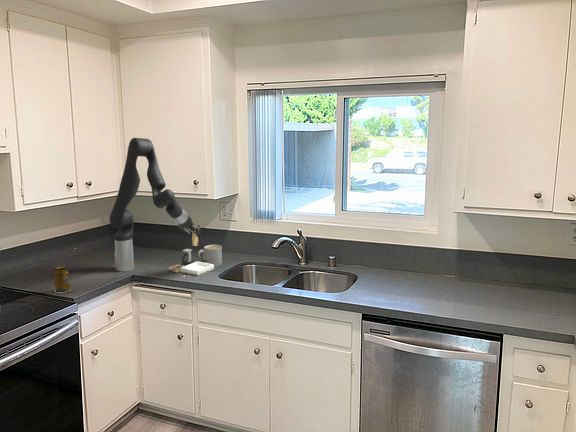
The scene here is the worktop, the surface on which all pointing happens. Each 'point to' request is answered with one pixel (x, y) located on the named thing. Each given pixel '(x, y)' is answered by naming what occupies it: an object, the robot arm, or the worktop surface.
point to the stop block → (175, 268)
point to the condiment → (61, 279)
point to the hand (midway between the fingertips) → (197, 236)
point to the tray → (197, 268)
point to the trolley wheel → (187, 257)
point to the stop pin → (194, 239)
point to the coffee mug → (212, 254)
